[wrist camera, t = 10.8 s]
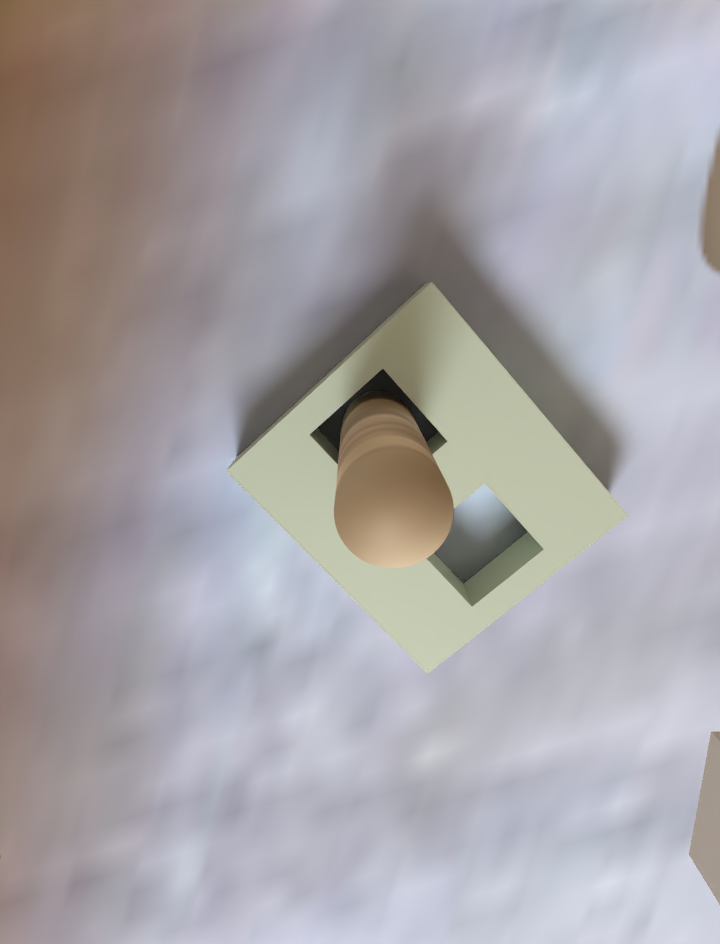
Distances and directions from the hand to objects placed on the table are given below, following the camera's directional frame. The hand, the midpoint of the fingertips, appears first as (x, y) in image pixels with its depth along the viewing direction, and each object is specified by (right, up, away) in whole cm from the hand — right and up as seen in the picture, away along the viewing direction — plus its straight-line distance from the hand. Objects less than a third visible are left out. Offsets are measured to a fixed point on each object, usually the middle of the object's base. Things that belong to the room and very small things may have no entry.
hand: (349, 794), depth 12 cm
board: (+4, +6, +25) cm, 26 cm away
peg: (+1, +8, +24) cm, 26 cm away
